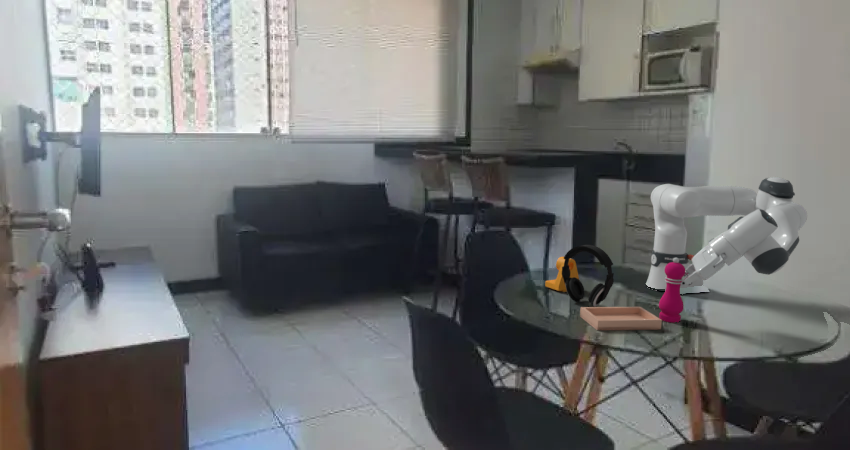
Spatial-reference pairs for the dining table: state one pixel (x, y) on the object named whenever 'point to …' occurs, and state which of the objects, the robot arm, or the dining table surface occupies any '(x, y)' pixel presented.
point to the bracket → (559, 281)
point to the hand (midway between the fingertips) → (684, 278)
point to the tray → (620, 318)
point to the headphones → (575, 285)
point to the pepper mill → (672, 293)
